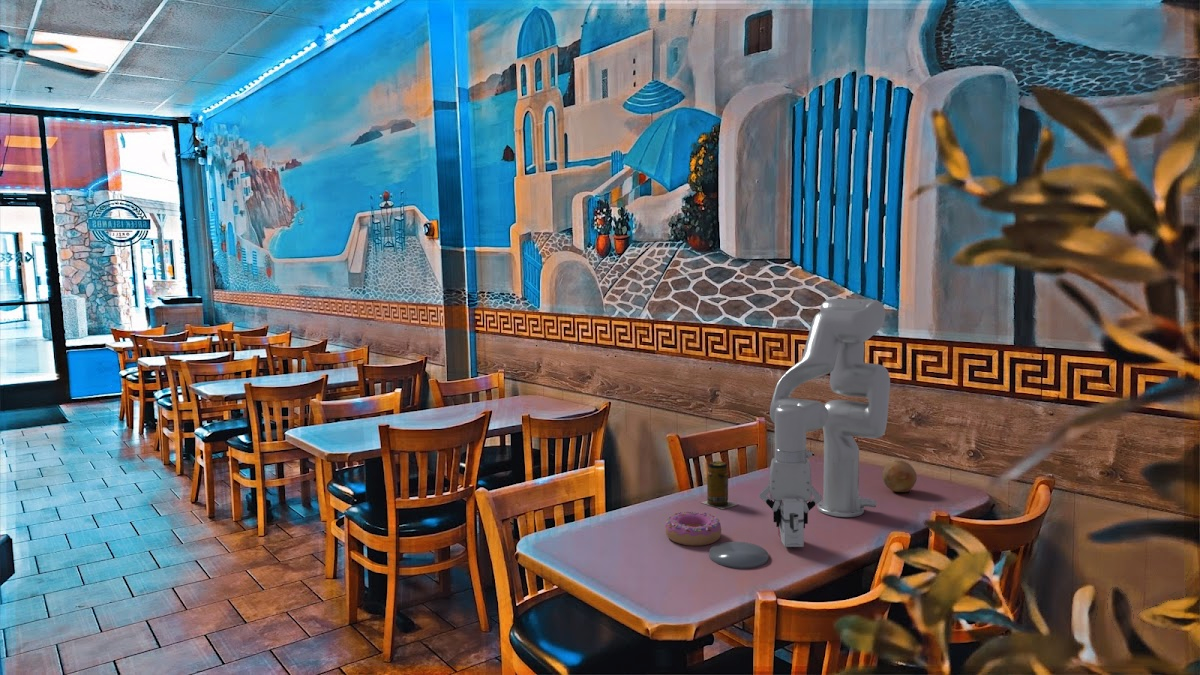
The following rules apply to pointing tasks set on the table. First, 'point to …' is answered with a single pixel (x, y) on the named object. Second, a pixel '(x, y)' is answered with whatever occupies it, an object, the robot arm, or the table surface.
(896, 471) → the onion
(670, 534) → the donut
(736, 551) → the grey oval disc
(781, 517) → the ink box
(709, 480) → the condiment
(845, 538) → the table surface
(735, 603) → the table surface
